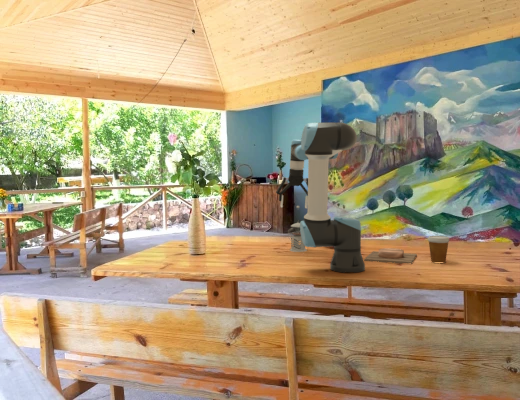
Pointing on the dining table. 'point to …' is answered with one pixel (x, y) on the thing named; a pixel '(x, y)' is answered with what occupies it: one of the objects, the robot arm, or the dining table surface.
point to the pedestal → (391, 256)
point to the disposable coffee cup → (438, 248)
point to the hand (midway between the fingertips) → (293, 207)
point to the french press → (297, 239)
